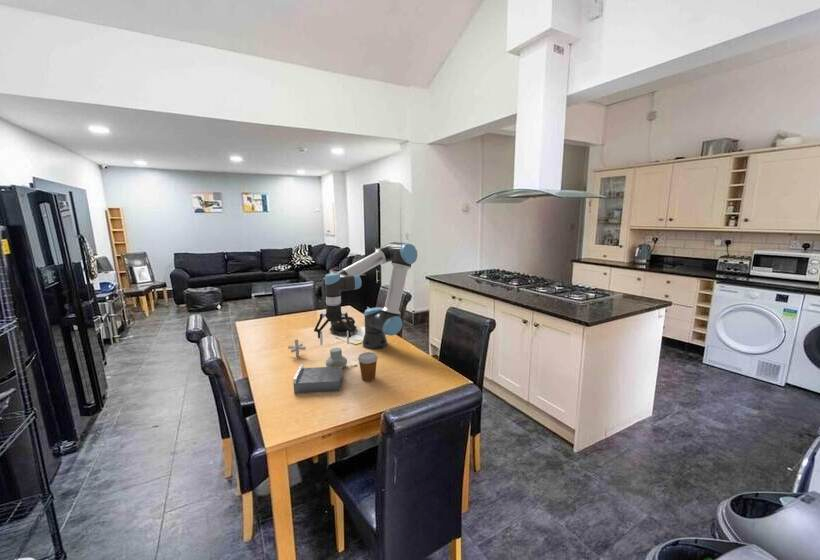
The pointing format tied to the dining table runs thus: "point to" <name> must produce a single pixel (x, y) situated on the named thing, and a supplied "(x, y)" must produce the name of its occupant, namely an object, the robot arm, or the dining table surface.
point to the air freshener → (336, 358)
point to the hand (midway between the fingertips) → (334, 343)
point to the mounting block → (317, 379)
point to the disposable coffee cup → (368, 366)
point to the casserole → (339, 328)
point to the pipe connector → (296, 347)
